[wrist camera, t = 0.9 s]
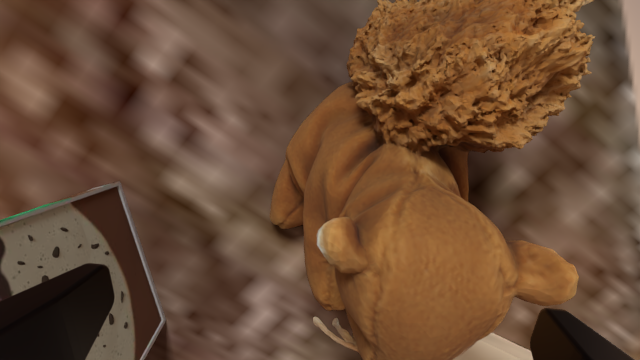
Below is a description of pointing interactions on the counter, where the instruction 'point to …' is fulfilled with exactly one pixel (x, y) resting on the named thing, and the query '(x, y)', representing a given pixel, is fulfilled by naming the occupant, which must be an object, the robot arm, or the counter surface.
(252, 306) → the counter surface
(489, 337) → the base board
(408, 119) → the stuffed squirrel
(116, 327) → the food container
